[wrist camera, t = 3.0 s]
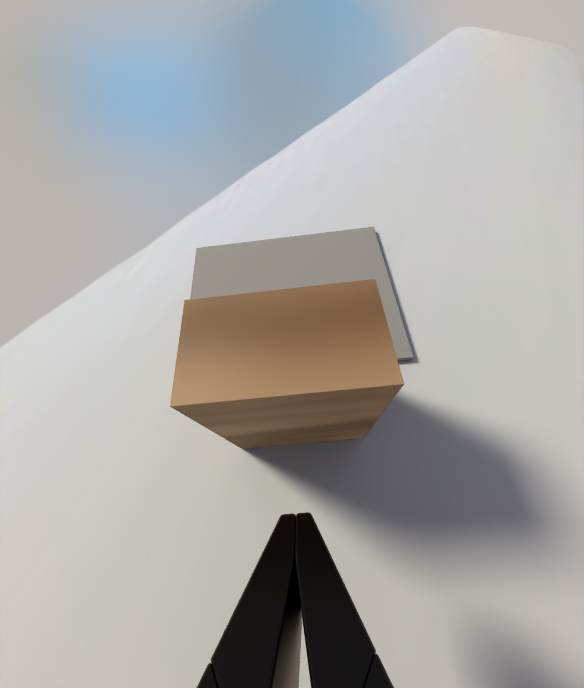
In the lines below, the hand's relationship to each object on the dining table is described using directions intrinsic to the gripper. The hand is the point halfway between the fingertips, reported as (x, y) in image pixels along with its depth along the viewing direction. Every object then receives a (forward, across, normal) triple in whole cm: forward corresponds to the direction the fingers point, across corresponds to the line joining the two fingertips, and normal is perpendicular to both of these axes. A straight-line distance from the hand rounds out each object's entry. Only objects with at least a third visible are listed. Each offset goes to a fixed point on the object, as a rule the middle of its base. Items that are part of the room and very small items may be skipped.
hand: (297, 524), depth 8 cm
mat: (+15, 0, -4) cm, 16 cm away
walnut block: (+9, 0, +2) cm, 9 cm away
